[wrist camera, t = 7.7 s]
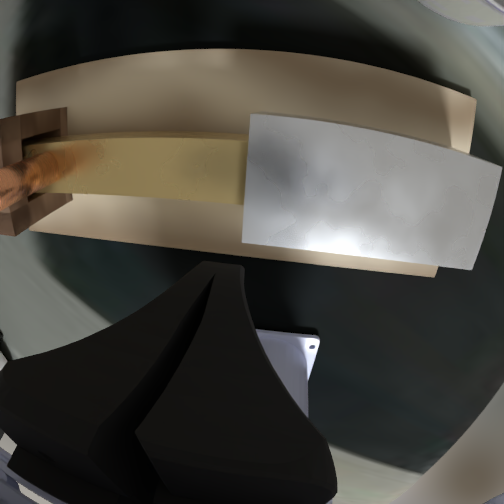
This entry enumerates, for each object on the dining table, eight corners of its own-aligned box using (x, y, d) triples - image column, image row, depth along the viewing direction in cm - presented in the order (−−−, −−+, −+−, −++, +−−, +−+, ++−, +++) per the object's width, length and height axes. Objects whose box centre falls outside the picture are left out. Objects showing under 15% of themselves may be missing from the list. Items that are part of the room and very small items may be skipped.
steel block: (433, 227, 18) (471, 270, 13) (254, 203, 19) (241, 242, 14) (451, 146, 15) (502, 167, 10) (261, 111, 16) (250, 113, 11)
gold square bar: (301, 193, 17) (311, 265, 10) (34, 179, 18) (-46, 221, 11) (308, 140, 15) (327, 172, 8) (30, 140, 17) (-55, 171, 10)
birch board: (431, 273, 20) (434, 277, 20) (33, 227, 22) (29, 230, 22) (471, 99, 14) (476, 99, 14) (21, 81, 16) (16, 81, 16)
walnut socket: (72, 199, 20) (15, 236, 14) (30, 198, 20) (-24, 230, 14) (67, 106, 17) (-1, 119, 11) (23, 115, 17) (-39, 131, 11)
